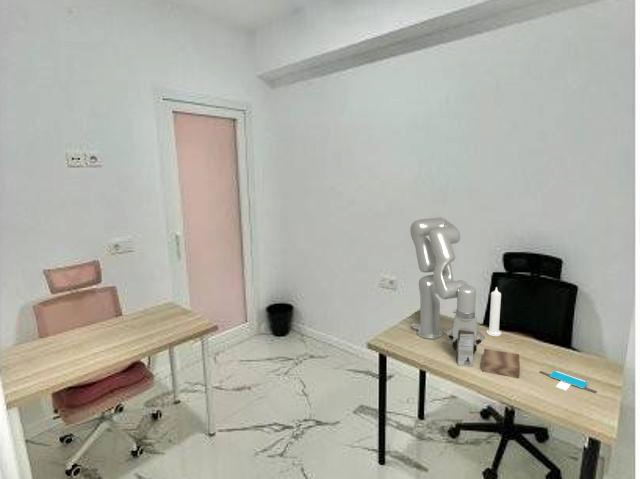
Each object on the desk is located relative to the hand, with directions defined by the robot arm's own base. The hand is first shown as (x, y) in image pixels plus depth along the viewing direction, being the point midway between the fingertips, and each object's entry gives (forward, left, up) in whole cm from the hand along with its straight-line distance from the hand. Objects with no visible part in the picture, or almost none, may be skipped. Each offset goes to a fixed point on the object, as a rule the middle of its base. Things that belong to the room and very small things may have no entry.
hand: (464, 350), depth 172 cm
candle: (+11, +33, -5) cm, 35 cm away
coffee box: (0, 0, -5) cm, 5 cm away
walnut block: (+15, 0, -6) cm, 16 cm away
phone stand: (+39, -2, -6) cm, 39 cm away
